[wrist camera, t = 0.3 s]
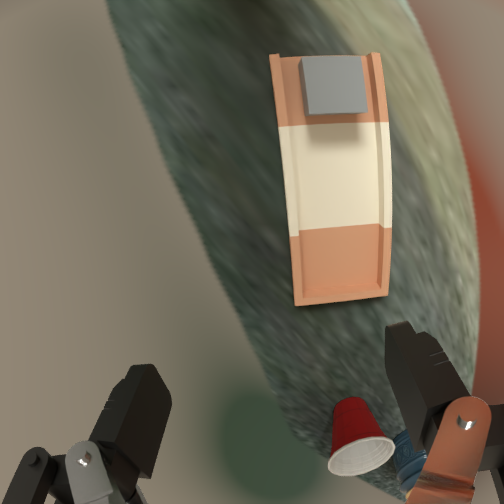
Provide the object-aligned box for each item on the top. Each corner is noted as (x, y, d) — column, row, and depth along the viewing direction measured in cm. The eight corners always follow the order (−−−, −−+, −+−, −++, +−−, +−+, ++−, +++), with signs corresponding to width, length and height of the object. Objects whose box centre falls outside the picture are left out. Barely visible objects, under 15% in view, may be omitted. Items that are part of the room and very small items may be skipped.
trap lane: (269, 59, 30) (269, 54, 27) (372, 57, 29) (379, 53, 26) (293, 296, 40) (295, 306, 38) (381, 286, 39) (387, 295, 37)
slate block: (297, 64, 29) (301, 56, 26) (350, 63, 29) (360, 56, 25) (304, 116, 32) (309, 114, 28) (357, 114, 31) (368, 112, 27)
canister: (400, 424, 51) (423, 494, 34) (450, 415, 50) (477, 476, 34) (380, 456, 56) (394, 518, 39) (426, 448, 55) (445, 504, 39)
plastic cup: (391, 393, 47) (410, 445, 36) (354, 428, 51) (365, 478, 40) (344, 379, 46) (358, 437, 35) (308, 416, 50) (313, 472, 38)
